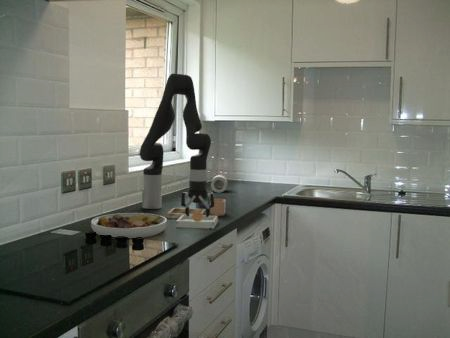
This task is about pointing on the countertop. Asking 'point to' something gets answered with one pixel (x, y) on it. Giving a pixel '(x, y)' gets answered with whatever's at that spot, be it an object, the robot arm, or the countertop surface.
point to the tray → (197, 222)
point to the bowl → (129, 225)
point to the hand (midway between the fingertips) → (197, 216)
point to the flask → (201, 205)
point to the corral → (180, 211)
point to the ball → (197, 216)
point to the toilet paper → (219, 189)
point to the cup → (218, 207)
